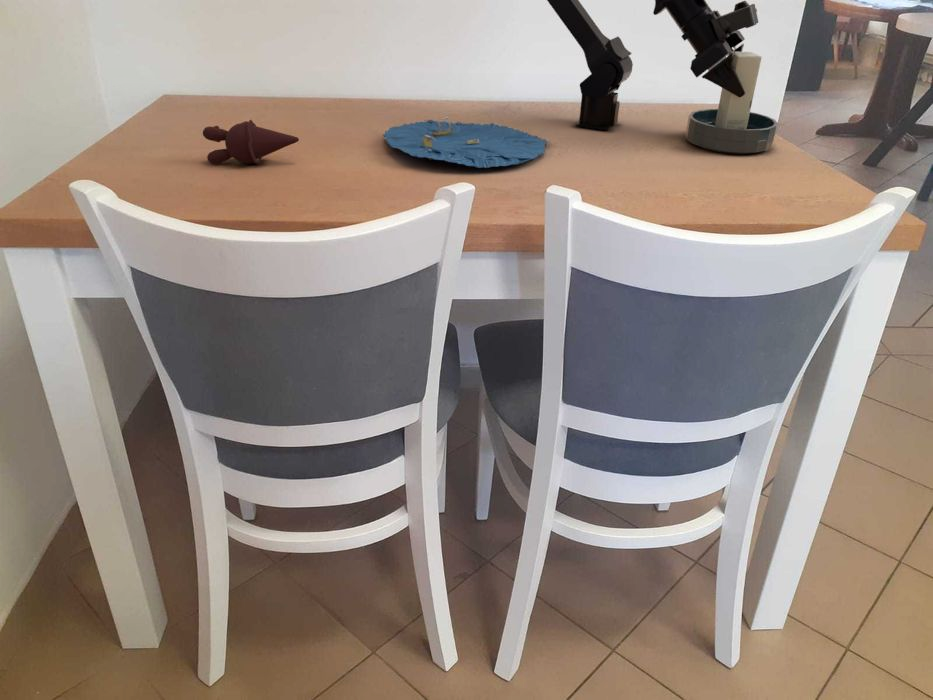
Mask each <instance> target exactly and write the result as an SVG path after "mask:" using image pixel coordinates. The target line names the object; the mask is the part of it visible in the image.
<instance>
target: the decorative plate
mask: <svg viewBox="0 0 933 700" xmlns="http://www.w3.org/2000/svg"><path fill="white" fill-rule="evenodd" d="M449 119H450V117H449V116H446V117H444V119H443V121H439V120H434V119H428V120H425V119H424V121H416V122H410V123H404V124H402V125H397V126H392V127H390V128H389V129H388V130H385V131H384V133H383V134H382V138H383V139H384V138H385V141H386V142H387V144H388V145H389V146H390V147H391V148H393V149H399V150H400V151H402V152H403V153H406V154H409V155H410V156H412V157H417V158H421V159H423V158H427V159H428V161H433V160H436V161H445V162H446V163H455V164H458V165H465V166H467V167H475V168H478V169H483V168H485V169H487V168H488V169H489V168H491V167H501V166H502V167H507V166H508V167H509V166H511V165H515V166H517V165H519V164H524V163H525V162H529V161H531V160H535V159H536V158H538V157H540V155H543V154H544V153H545V152H546V147H545V146H547V143H548V141H547V140H546V139H543V138H541V137H538V136H537V135H532V134H529V132H527V131H526V132H524V131H523V130H520V129H514V128H513V127H509V126H507V125H499V124H495V123H494V122H490V123H484V124H481V123H473V122H469V123H463V122H458V121H457V122H455V123H453V122H450V120H449Z"/></svg>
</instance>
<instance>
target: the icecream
mask: <svg viewBox="0 0 933 700" xmlns="http://www.w3.org/2000/svg"><path fill="white" fill-rule="evenodd" d="M202 136H203V137H204V138H205V140H208V141H211V142H215V143H220V142H224V143H225V144H224V145H225V148H220V149H219V148H218V149H214V150H212V151H210V152H208V154H207V156H206V159H207V161H208V163H210V164H222V163H225V162H227V161H229V160H230V159H232V158H233V159H234V160H235V161H237V162H239V163H242V164H250V165H254V164H256V165H260V164H261V161H262V158H264V157H266V156H268V155H271V154H273V153H275V152H277V151H279V150H282V149H284V148H286V147H288V146H291V145H293V144H295V143H298V142H300V140H299V137H297V136H295V135H291V134H287V133H283V132H279V131H275V130H272V129H268V128H264V127H261V126H257V125H256V123H254V121H253V120H252V119H249V120H248V121H246V120H245V121H243V122H239V123H235V124H234V125H233V126H231V127H230V128H229V129H228V130H226V129H224V128H220V127H219V125H214V126H206V127H204V128H203V130H202Z"/></svg>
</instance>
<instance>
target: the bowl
mask: <svg viewBox="0 0 933 700" xmlns="http://www.w3.org/2000/svg"><path fill="white" fill-rule="evenodd" d="M717 112H718V108H707V109H697V110H695V111H692V112H690V113H689V114H688V118H687V124H686V129H685V134H684V137H685V139H686V141H688V142H690V144H692V145H695V146H697V147H699V148H702V149H705V150H708V151H712V152H717V153H723V154H724V153H725V154H734V155H744V154H745V155H746V154H747V155H748V154H756V153H760V152H766V151H768V150H771V149H772V147H773V145H774V142H775V138H776V134H777V129H778V127H779V126H778V125H779V123H778V121H777V120H776V119H775V118H773V117H770V116H768V115H764V114H761V113H757V112H753V111H750V114H749V119H748V124H747V128H746V129H731V128H724V127H718V126H716V125H715V123H716V117H717Z"/></svg>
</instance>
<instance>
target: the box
mask: <svg viewBox="0 0 933 700" xmlns="http://www.w3.org/2000/svg"><path fill="white" fill-rule="evenodd" d="M733 52H734V51H731V52H730V53H729V55H730V54H732V53H733ZM762 58H763V57H762V56H761V55H759V54H757V53H754V52H752V51H742V52H737V51H735V55H734V60H733V67H734V69H735V71H736V73H737V75H738V78H739V80H740V82H741V84H742V86H743V89H744V91H745V95H743V96H742V97H738V96H736V95H734V94H732V93H731V92H729V91H727V90H725V89H724V88H722V87H721V92H720V97H719V102H718V107H717V109H718V112H717V117H716V123H715V125H716V126H718V127H724V128H731V129H746V128H747V124H748V119H749V114H750V112H751V109H752V105H753V100H754V95H755V89H756V87H757V86H756V85H757V81H758V76H759V72H760V67H761V63H762Z"/></svg>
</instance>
